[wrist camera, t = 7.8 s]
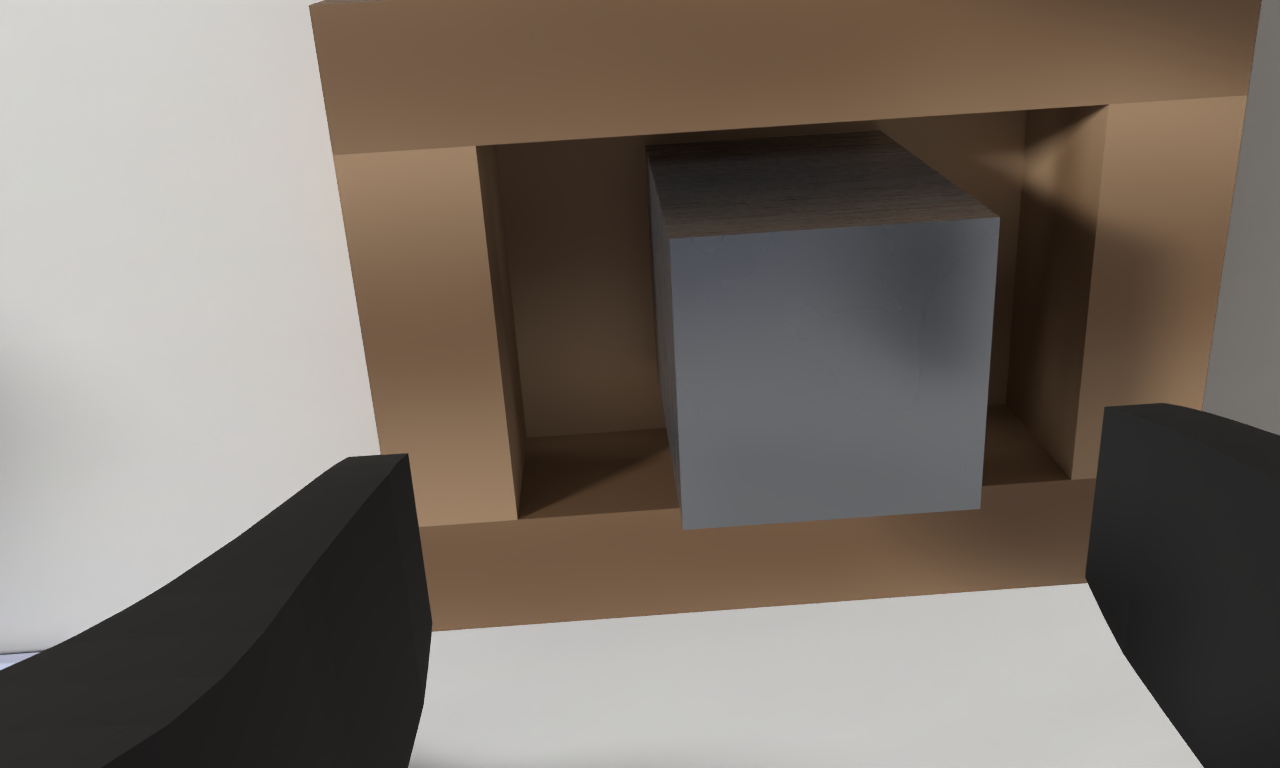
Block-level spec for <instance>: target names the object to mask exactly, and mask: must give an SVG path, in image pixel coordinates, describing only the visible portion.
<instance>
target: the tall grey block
mask: <svg viewBox="0 0 1280 768" xmlns="http://www.w3.org/2000/svg"><path fill="white" fill-rule="evenodd" d="M645 158H646V177H647V196H648V215H649V234H650V253H651V272H652V291H653V310H654V328H655V347H656V366H657V372H658V378H659V384H660V391H661V397H662V403H663V409H664V416H665V422H666V428H667V434H668V440H669V447H670V453H671V459H672V465H673V472H674V478H675V484H676V490H677V496H678V503H679V509H680V515H681V521H682V528H683V530H690V529H704V528H718V527H732V526H747V525H761V524H775V523H789V522H803V521H817V520H831V519H846V518H860V517H874V516H888V515H902V514H916V513H930V512H944V511H959V510H973V509H980V504H981V489H982V474H983V460H984V445H985V431H986V416H987V402H988V387H989V372H990V358H991V343H992V329H993V314H994V299H995V285H996V270H997V256H998V241H999V227H1000V217H999V216H998V215H996V214H995V213H994V212H992V211H991V210H990V209H988V208H987V207H985V206H984V205H983V204H981V203H980V202H978V201H977V200H976V199H974V198H973V197H972V196H970V195H969V194H967V193H966V192H965V191H963V190H962V189H960V188H959V187H958V186H956V185H955V184H954V183H952V182H951V181H949V180H948V179H947V178H945V177H944V176H943V175H941V174H940V173H938V172H937V171H936V170H934V169H933V168H931V167H930V166H929V165H927V164H926V163H925V162H923V161H922V160H920V159H919V158H918V157H916V156H915V155H913V154H912V153H911V152H909V151H908V150H907V149H905V148H904V147H902V146H901V145H900V144H898V143H897V142H896V141H894V140H893V139H891V138H890V137H889V136H887V135H886V134H884V133H883V132H882V131H880V130H879V131H863V132H848V133H832V134H816V135H801V136H785V137H769V138H753V139H738V140H722V141H706V142H690V143H675V144H659V145H645Z"/></svg>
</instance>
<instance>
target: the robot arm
mask: <svg viewBox="0 0 1280 768" xmlns="http://www.w3.org/2000/svg"><path fill="white" fill-rule="evenodd" d="M1085 578H1086V580H1087V582H1088V584H1089V587H1090V589H1091V591H1092V593H1093V595H1094V597H1095V599H1096V601H1097V603H1098V605H1099V608H1100V610H1101V612H1102V614H1103V616H1104V618H1105V620H1106V622H1107V624H1108V626H1109V628H1110V629H1111V631H1112V633H1113V635H1114V637H1115V639H1116V641H1117V643H1118V645H1119V646H1120V648H1121V650H1122V652H1123V654H1124V655H1125V657H1126V658H1127V660H1128V661H1129V663H1130V664H1131V666H1132V667H1133V669H1134V670H1135V672H1136V673H1137V675H1138V676H1139V677H1140V679H1141V680H1142V682H1143V683H1144V684H1145V686H1146V687H1147V689H1148V690H1149V692H1150V693H1151V694H1152V696H1153V697H1154V699H1155V700H1156V702H1157V703H1158V704H1159V706H1160V707H1161V709H1162V710H1163V711H1164V713H1165V714H1166V716H1167V717H1168V718H1169V720H1170V721H1171V723H1172V724H1173V725H1174V727H1175V728H1176V730H1177V731H1178V732H1179V734H1180V735H1181V736H1182V738H1183V739H1184V741H1185V742H1186V743H1187V745H1188V746H1189V747H1190V749H1191V750H1192V752H1193V753H1194V754H1195V756H1196V757H1197V759H1198V760H1199V761H1200V763H1201V764H1202V765H1203V767H1204V768H1280V436H1279V435H1276V434H1273V433H1270V432H1267V431H1264V430H1261V429H1258V428H1255V427H1252V426H1249V425H1246V424H1243V423H1240V422H1237V421H1234V420H1230V419H1227V418H1224V417H1221V416H1217V415H1214V414H1211V413H1207V412H1204V411H1200V410H1196V409H1192V408H1188V407H1184V406H1179V405H1173V404H1167V403H1152V404H1137V405H1122V406H1107V407H1104V416H1103V424H1102V433H1101V442H1100V450H1099V459H1098V468H1097V476H1096V485H1095V494H1094V503H1093V511H1092V520H1091V529H1090V537H1089V546H1088V555H1087V563H1086V572H1085ZM431 633H432V616H431V609H430V602H429V595H428V588H427V581H426V574H425V567H424V560H423V553H422V546H421V539H420V532H419V525H418V518H417V511H416V504H415V497H414V490H413V483H412V476H411V469H410V462H409V455H408V453H402V454H387V455H372V456H357V457H348V458H346V459H344V460H342V461H341V462H339V463H337V464H336V465H334V466H333V467H331V468H330V469H328V470H327V471H325V472H324V473H323V474H321V475H320V476H319V477H317V478H316V479H315V480H313V481H312V482H311V483H309V484H308V485H307V486H305V487H304V488H303V489H301V490H300V491H299V492H297V493H296V494H295V495H293V496H292V497H291V498H289V499H288V500H287V501H285V502H284V503H283V504H281V505H280V506H279V507H277V508H276V509H275V510H273V511H272V512H271V513H269V514H268V515H267V516H265V517H264V518H263V519H261V520H260V521H259V522H257V523H256V524H255V525H253V526H252V527H251V528H249V529H248V530H247V531H245V532H244V533H242V534H241V535H240V536H238V537H237V538H235V539H234V540H232V541H231V542H229V543H228V544H227V545H225V546H224V547H222V548H221V549H219V550H218V551H216V552H215V553H213V554H212V555H210V556H209V557H207V558H206V559H204V560H203V561H201V562H200V563H198V564H197V565H195V566H194V567H192V568H191V569H189V570H188V571H186V572H185V573H183V574H182V575H180V576H179V577H177V578H176V579H174V580H173V581H171V582H170V583H168V584H167V585H165V586H164V587H162V588H160V589H159V590H157V591H155V592H154V593H152V594H150V595H149V596H147V597H145V598H144V599H142V600H140V601H139V602H137V603H135V604H133V605H132V606H130V607H128V608H126V609H125V610H123V611H121V612H119V613H117V614H115V615H114V616H112V617H110V618H108V619H106V620H104V621H102V622H100V623H99V624H97V625H95V626H93V627H91V628H89V629H87V630H86V631H84V632H82V633H80V634H78V635H76V636H74V637H72V638H70V639H68V640H66V641H64V642H62V643H60V644H58V645H56V646H54V647H51V648H49V649H47V650H45V651H42V652H36V653H22V654H9V655H0V768H408V765H409V761H410V757H411V753H412V749H413V745H414V741H415V737H416V733H417V729H418V725H419V721H420V717H421V713H422V709H423V705H424V697H425V688H426V680H427V672H428V663H429V653H430V643H431Z"/></svg>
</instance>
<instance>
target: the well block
mask: <svg viewBox="0 0 1280 768" xmlns="http://www.w3.org/2000/svg"><path fill="white" fill-rule="evenodd" d="M1260 7H1261V0H324V1H321V2H318V3H315V4H312V5H309V9H310V16H311V22H312V28H313V34H314V40H315V47H316V53H317V59H318V65H319V72H320V78H321V84H322V90H323V96H324V103H325V109H326V115H327V121H328V128H329V134H330V140H331V146H332V152H333V159H334V165H335V171H336V177H337V184H338V190H339V196H340V202H341V208H342V215H343V221H344V227H345V233H346V240H347V246H348V252H349V258H350V264H351V271H352V277H353V283H354V289H355V296H356V302H357V308H358V314H359V321H360V327H361V333H362V339H363V345H364V352H365V358H366V364H367V370H368V377H369V383H370V389H371V395H372V401H373V408H374V414H375V420H376V426H377V433H378V439H379V445H380V451H381V455H387V454H402V453H408V455H409V462H410V469H411V476H412V483H413V490H414V497H415V504H416V511H417V518H418V525H419V532H420V539H421V546H422V553H423V560H424V567H425V574H426V581H427V588H428V595H429V602H430V609H431V616H432V632H433V631H447V630H460V629H474V628H487V627H501V626H514V625H528V624H541V623H555V622H568V621H581V620H595V619H608V618H622V617H635V616H649V615H662V614H676V613H689V612H703V611H716V610H730V609H743V608H757V607H770V606H784V605H797V604H811V603H824V602H838V601H851V600H865V599H878V598H892V597H905V596H919V595H932V594H946V593H959V592H972V591H986V590H999V589H1013V588H1026V587H1040V586H1053V585H1067V584H1080V583H1088V582H1087V580H1086V578H1085V572H1086V563H1087V555H1088V546H1089V537H1090V529H1091V520H1092V511H1093V503H1094V494H1095V485H1096V476H1097V468H1098V459H1099V450H1100V442H1101V433H1102V424H1103V416H1104V407H1107V406H1122V405H1137V404H1152V403H1167V404H1173V405H1179V406H1184V407H1188V408H1192V409H1196V410H1200V411H1202V405H1203V398H1204V391H1205V384H1206V377H1207V370H1208V364H1209V357H1210V350H1211V343H1212V336H1213V329H1214V322H1215V316H1216V309H1217V302H1218V295H1219V288H1220V281H1221V274H1222V268H1223V261H1224V254H1225V247H1226V240H1227V233H1228V226H1229V219H1230V213H1231V206H1232V199H1233V192H1234V185H1235V178H1236V171H1237V165H1238V158H1239V151H1240V144H1241V137H1242V130H1243V123H1244V117H1245V110H1246V103H1247V96H1248V89H1249V82H1250V75H1251V69H1252V62H1253V55H1254V48H1255V41H1256V34H1257V27H1258V20H1259V14H1260ZM879 130H880V131H882V132H883V133H884V134H886V135H887V136H889V137H890V138H891V139H893V140H894V141H896V142H897V143H898V144H900V145H901V146H902V147H904V148H905V149H907V150H908V151H909V152H911V153H912V154H913V155H915V156H916V157H918V158H919V159H920V160H922V161H923V162H925V163H926V164H927V165H929V166H930V167H931V168H933V169H934V170H936V171H937V172H938V173H940V174H941V175H943V176H944V177H945V178H947V179H948V180H949V181H951V182H952V183H954V184H955V185H956V186H958V187H959V188H960V189H962V190H963V191H965V192H966V193H967V194H969V195H970V196H972V197H973V198H974V199H976V200H977V201H978V202H980V203H981V204H983V205H984V206H985V207H987V208H988V209H990V210H991V211H992V212H994V213H995V214H996V215H998V216H999V217H1000V227H999V241H998V256H997V270H996V285H995V299H994V314H993V329H992V343H991V358H990V372H989V387H988V402H987V416H986V431H985V445H984V460H983V474H982V489H981V504H980V509H973V510H959V511H944V512H930V513H916V514H902V515H888V516H874V517H860V518H846V519H831V520H817V521H803V522H789V523H775V524H761V525H747V526H732V527H718V528H704V529H690V530H683V528H682V521H681V515H680V509H679V503H678V496H677V490H676V484H675V478H674V472H673V465H672V459H671V453H670V447H669V440H668V434H667V428H666V422H665V416H664V409H663V403H662V397H661V391H660V384H659V378H658V372H657V366H656V347H655V328H654V310H653V291H652V272H651V253H650V234H649V215H648V196H647V177H646V158H645V145H659V144H675V143H690V142H706V141H722V140H738V139H753V138H769V137H785V136H801V135H816V134H832V133H848V132H863V131H879Z"/></svg>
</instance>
